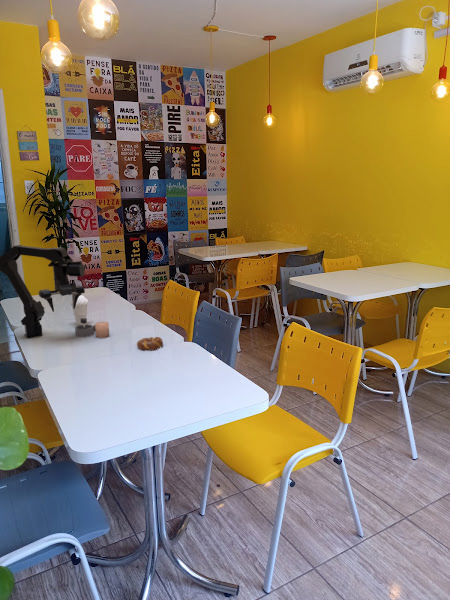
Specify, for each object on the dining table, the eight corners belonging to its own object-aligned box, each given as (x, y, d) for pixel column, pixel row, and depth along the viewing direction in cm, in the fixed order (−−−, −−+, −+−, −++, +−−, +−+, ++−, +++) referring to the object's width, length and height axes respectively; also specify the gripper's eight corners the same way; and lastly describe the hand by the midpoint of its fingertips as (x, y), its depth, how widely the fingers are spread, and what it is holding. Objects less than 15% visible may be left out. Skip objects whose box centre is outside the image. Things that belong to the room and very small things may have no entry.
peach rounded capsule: (98, 338, 202) (97, 326, 201) (94, 335, 207) (93, 323, 205) (111, 336, 205) (110, 324, 204) (106, 333, 210) (105, 320, 209)
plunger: (80, 335, 204) (79, 321, 203) (76, 332, 209) (75, 318, 207) (92, 333, 208) (91, 319, 206) (88, 330, 212) (87, 316, 210)
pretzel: (152, 341, 200) (152, 333, 199) (169, 346, 194) (169, 337, 193) (131, 347, 191) (130, 339, 190) (148, 353, 185) (147, 344, 184)
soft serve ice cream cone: (86, 326, 221) (84, 294, 217) (70, 326, 221) (67, 294, 217) (92, 321, 229) (89, 291, 225) (75, 321, 229) (73, 291, 225)
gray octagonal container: (79, 337, 203) (78, 330, 202) (74, 333, 209) (73, 326, 208) (99, 334, 209) (99, 326, 208) (94, 330, 215) (93, 322, 214)
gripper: (43, 281, 187) (46, 317, 191) (87, 276, 198) (90, 310, 201) (37, 277, 196) (40, 311, 200) (79, 273, 207) (82, 305, 210)
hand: (63, 310), depth 203 cm, fingers open, 9 cm apart
